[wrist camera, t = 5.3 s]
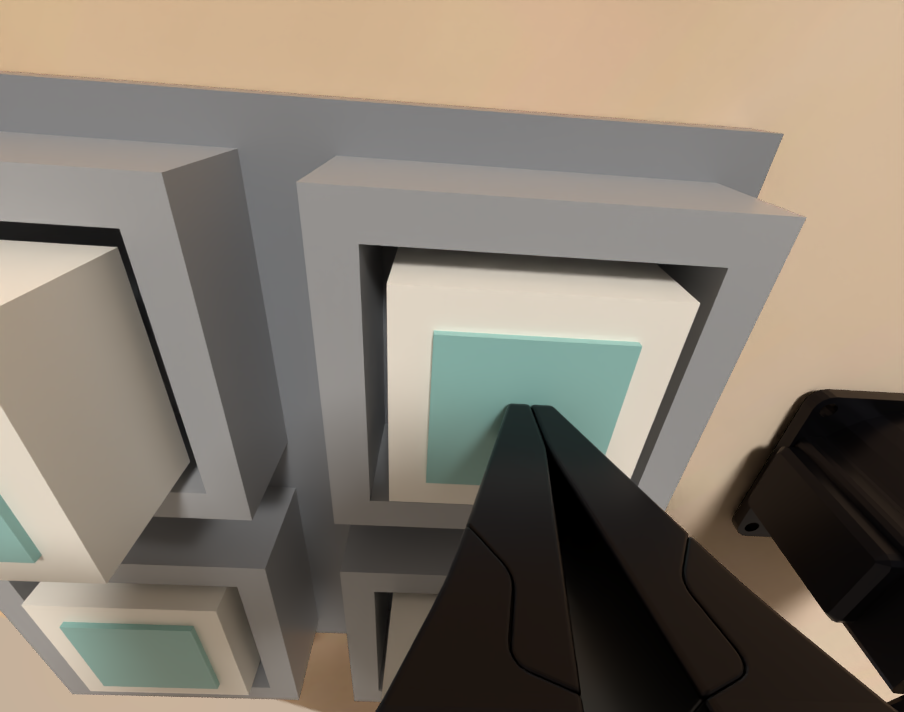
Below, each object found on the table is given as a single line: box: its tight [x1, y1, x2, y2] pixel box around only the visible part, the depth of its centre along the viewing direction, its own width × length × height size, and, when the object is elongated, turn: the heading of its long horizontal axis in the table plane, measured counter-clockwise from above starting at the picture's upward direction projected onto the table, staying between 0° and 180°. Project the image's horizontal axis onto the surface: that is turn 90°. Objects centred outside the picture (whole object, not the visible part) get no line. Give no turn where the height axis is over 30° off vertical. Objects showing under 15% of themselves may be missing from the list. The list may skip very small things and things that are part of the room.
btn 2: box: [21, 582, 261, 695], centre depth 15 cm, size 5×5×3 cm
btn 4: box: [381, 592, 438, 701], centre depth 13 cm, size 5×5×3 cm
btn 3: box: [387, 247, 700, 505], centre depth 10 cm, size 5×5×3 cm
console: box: [0, 71, 806, 702], centre depth 13 cm, size 20×20×4 cm
